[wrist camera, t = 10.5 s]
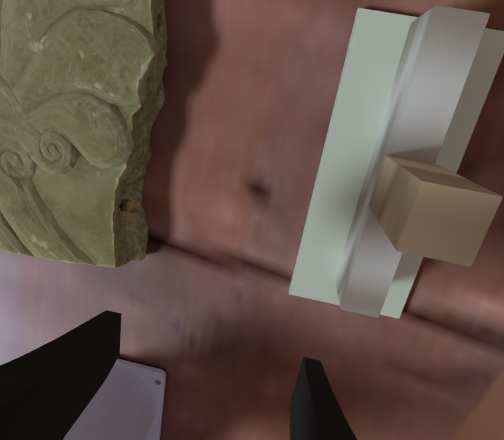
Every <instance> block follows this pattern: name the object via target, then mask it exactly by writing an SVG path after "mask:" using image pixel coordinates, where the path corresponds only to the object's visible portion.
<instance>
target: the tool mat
mask: <svg viewBox="0 0 504 440" xmlns="http://www.w3.org/2000/svg"><path fill="white" fill-rule="evenodd" d="M417 18H418V17H413V16H406V15H400V14H394V13H388V12H382V11H375V10H369V9H363V8H358V10H357V13H356V17H355V21H354V25H353V29H352V34H351V38H350V42H349V46H348V50H347V54H346V58H345V62H344V66H343V70H342V75H341V79H340V83H339V87H338V91H337V95H336V99H335V103H334V107H333V112H332V116H331V120H330V124H329V128H328V132H327V136H326V140H325V144H324V149H323V153H322V157H321V161H320V165H319V169H318V173H317V177H316V181H315V186H314V190H313V194H312V198H311V202H310V206H309V210H308V214H307V218H306V223H305V227H304V231H303V235H302V239H301V243H300V247H299V251H298V255H297V260H296V264H295V268H294V272H293V276H292V280H291V284H290V288H289V294H291V295H295V296H300V297H304V298H309V299H313V300H318V301H322V302H327V303H331V304H336V305H340V304H339V299H338V293H337V288H336V282H335V277H336V274H337V270H338V267H339V264H340V260H341V257H342V254H343V250H344V247H345V243H346V240H347V237H348V233H349V230H350V227H351V223H352V220H353V216H354V213H355V210H356V206H357V203H358V200H359V196H360V193H361V189H362V186H363V183H364V179H365V176H366V173H367V169H368V166H369V163H370V159H371V156H372V152H373V149H374V146H375V142H376V139H377V136H378V132H379V129H380V125H381V122H382V119H383V115H384V112H385V109H386V105H387V102H388V98H389V95H390V92H391V88H392V85H393V82H394V78H395V75H396V72H397V68H398V65H399V61H400V58H401V55H402V51H403V48H404V45H405V41H406V38H407V34H408V31H409V28H410V24H411V22H413V21H414V20H415V19H417ZM503 54H504V31H500V30H494V29H487V28H485V30H484V33H483V35H482V38H481V41H480V43H479V46H478V49H477V52H476V54H475V57H474V60H473V62H472V65H471V68H470V71H469V73H468V76H467V79H466V81H465V84H464V87H463V90H462V92H461V95H460V98H459V100H458V103H457V106H456V109H455V111H454V114H453V117H452V119H451V122H450V125H449V128H448V130H447V133H446V136H445V139H444V141H443V144H442V147H441V149H440V152H439V155H438V158H437V160H436V163H435V165H439V166H442V167H444V168H446V169H448V170H450V171H452V172H454V173H457V171H458V168H459V166H460V163H461V161H462V158H463V156H464V153H465V151H466V148H467V145H468V143H469V140H470V138H471V135H472V133H473V130H474V128H475V125H476V123H477V120H478V118H479V115H480V113H481V110H482V107H483V105H484V102H485V100H486V97H487V95H488V92H489V90H490V87H491V85H492V82H493V80H494V77H495V75H496V72H497V69H498V67H499V64H500V62H501V59H502V57H503ZM422 259H423V257H422V256H417V255H413V254H408V253H402V255H401V258H400V261H399V264H398V266H397V269H396V272H395V274H394V277H393V280H392V283H391V285H390V288H389V291H388V293H387V296H386V299H385V302H384V304H383V307H382V310H381V312H380V314H381V315H385V316H389V317H394V318H398V319H399V318H400V315H401V313H402V310H403V308H404V305H405V303H406V300H407V297H408V295H409V292H410V290H411V287H412V285H413V282H414V280H415V277H416V275H417V272H418V270H419V267H420V265H421V262H422Z"/></svg>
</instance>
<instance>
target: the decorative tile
mask: <svg viewBox="0 0 504 440" xmlns="http://www.w3.org/2000/svg"><path fill="white" fill-rule="evenodd" d="M166 50H167V25H166V17H165V0H0V251H5V252H10V253H15V254H21V255H27V256H32V257H38V258H43V259H49V260H54V261H60V262H68V263H78V264H87V265H97V266H105V267H120V266H122V265H124V264H126V263H128V262H137V261H141V260H143V259H144V258H145V255H146V251H147V243H148V225H147V220H146V215H145V211H144V208H143V205H142V197H143V194H142V189H143V186H144V176H145V174H146V167H147V165H148V162H149V160H150V159H151V149H150V138H151V130H152V126H153V123H154V121H155V119H156V117H157V115H158V114H159V112H160V110H161V109H162V107H163V105H164V100H165V93H164V87H163V81H162V77H163V74H164V70H165V68H166V66H167V60H166Z"/></svg>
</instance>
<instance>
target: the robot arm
mask: <svg viewBox="0 0 504 440" xmlns="http://www.w3.org/2000/svg"><path fill="white" fill-rule="evenodd" d="M120 332H121V314H120V313H116V312H112V311H107V310H106V311H104V312H102V313H101V314H99V315H97V316H95V317H94V318H92V319H90V320H89V321H87V322H85V323H83V324H82V325H80V326H78V327H76V328H75V329H73V330H71V331H69V332H68V333H66V334H64V335H62V336H60V337H59V338H57V339H55V340H53V341H51V342H49V343H47V344H45V345H43V346H41V347H39V348H37V349H35V350H33V351H31V352H29V353H27V354H25V355H23V356H21V357H19V358H17V359H14V360H12V361H10V362H8V363H5V364H3V365H1V366H0V440H160V434H161V424H162V414H163V404H164V394H165V384H166V373H165V371H163V370H162V369H158V368H154V367H150V366H146V365H142V364H138V363H134V362H130V361H126V360H121V359H118V357H119V354H120ZM158 380H159V381H158ZM290 440H357V439H356V437H355V435H354V433H353V431H352V430H351V428H350V426H349V424H348V422H347V420H346V418H345V416H344V414H343V412H342V410H341V408H340V406H339V404H338V402H337V400H336V397H335V395H334V393H333V391H332V388H331V386H330V384H329V381H328V379H327V376H326V374H325V371H324V368H323V365H322V363H321V362H320V361H319V360H315V359H310V358H306V357H304V358H303V361H302V365H301V368H300V372H299V375H298V379H297V382H296V385H295V389H294V392H293V396H292V404H291V417H290Z"/></svg>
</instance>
